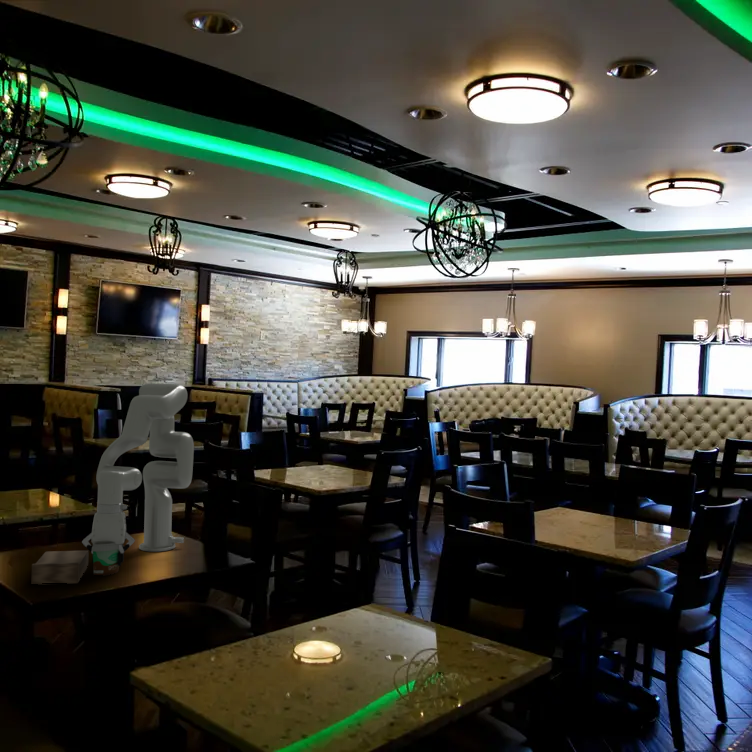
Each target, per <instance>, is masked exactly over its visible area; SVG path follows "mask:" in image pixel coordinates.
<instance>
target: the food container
mask: <svg viewBox="0 0 752 752" xmlns="http://www.w3.org/2000/svg"><path fill="white" fill-rule="evenodd" d="M121 545H122V544H121ZM123 546H124V545H123ZM123 546H122V547H123ZM92 551H93V563H92V564H93V565H92V567H93V576H94V575H103V576H111V575H114V573H115V574H117V573H118V572H119V567H120V566H118V554H119V545H116V544H115V543H111V544H92ZM110 574H111V575H110Z"/></svg>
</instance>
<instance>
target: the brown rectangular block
mask: <svg viewBox="0 0 752 752" xmlns="http://www.w3.org/2000/svg"><path fill="white" fill-rule="evenodd" d="M89 552H90V551H89V550H88V549H87V550H61V551H60V550H55V551H51V550H49V551H48V550H47V551H45V552H44V553H43V554H42V556H40V558H39V559H38V560H37V561H36V562H35V563H31V576H30V577H31V583H30V584H38V585H43V584H42V583H67V584H79V582H80V581H81V579H82V577H83V576H84V574H85V572H86V571H87V569H88V567H89ZM87 566H88V567H87ZM83 573H84V574H83ZM80 578H81V579H80Z"/></svg>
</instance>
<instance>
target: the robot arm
mask: <svg viewBox="0 0 752 752" xmlns="http://www.w3.org/2000/svg"><path fill="white" fill-rule="evenodd" d="M187 401H188V391H187V388H186V387H185V386H184V385H182V384H177V383H156V382H155V383H145V384H142V385H141V386H140V387H139V389H138V395H136V396H134V397H133V398H132V400H131V401H130V403H129V407H128V410H127V415H126V418H125V421H124V425H123V429H122V432H121V434H120V435H119V436H118V438H116V439H115V440H114V441H112V442H111V444H110V445H109V446H108V447H107V448H106V449H105V450H104V451H103V454H102V455H101V458H100V460H99V464H98V467H97V471H96V478H95V479H96V483H97V507H96V510H97V511H96V512H95V513H94V516H93V522H92V528H91V532H90V533H89V534H88V535H87V536H86V537H85V538H83V540H82V541H81V543H82V544H83V546H84V547H86V549H87V550H89V552H90V554H92V557H91V559H92V560H91V563H92V564H93V551H92V546H93V544H111V543H115V544H116V545H119V554H118V566H119V567H121V565H122V564H123V563H124V561H125V560H124V557H125V556H124V555H125V552H126V551H127V550H129V548H130V547H131V546H132V545H133V544H134V542H135V541H136V540H135V538H133V537H132V536H131V534H129V533H128V532H127V520H126V513H125V510H127V509H128V505H127V504H124V503H123V500H124V499H123V497H124V491H134V490H136V489H138V488H139V487H140V486H141V484H142V481H143V486H144V522H143V523H144V524H143V525H144V526H143V527H144V529H143V542H142V543H140V544H139V545H138V549H139V550H141V551H144V552H150V553H151V552H152V553H153V552H154V553H155V552H167V551H171V550H173V549H175V548H176V544H177V543H178V544H184V543H185V538H184V537H181V536H174V535H173V533H172V522H173V521H172V520H173V518H172V516H173V515H172V514H173V498H172V495H171V492H170V491H169V489H179V490H180V489H183V490H184V489H187V488H189V486H190V485H191V483H192V479H193V472H194V471H193V469H194V468H193V467H194V453H195V444H194V439H193V437H192V435H191V434H190V433H188V432H185V431H175V415H176V414H177V413H179V412H180V411H181V409H183V408H184V406H185V405H186V403H187ZM148 438H149V439H148ZM148 441H149V442H148ZM146 442H148V443H149V444H148V445H149V446H148V448H149V454H150V455H151V456H153V457H156V458H157V457H158V458H166V459H167V458H169V459H176V461H168V460H167V461H166V460H154V461H153V460H152V461H149V462H148V463H146V465H144V467H143V470H142V472H141V471H140V469H138V468H136V467H133V466H132V467H131V466H117V465H116V466H115V462H116V461H117V460H118V458H119V457H120V456H121V455H123V454H125V453H126V452H129V451H131V450H132V449H136V448H139V447H140V446H142V445H144V444H146ZM90 540H91V543H90V542H89V541H90ZM126 540H127V541H128V542H127V543H126V544H125V541H126ZM121 544H122V545H121ZM124 544H125V545H124ZM122 546H123V547H122Z"/></svg>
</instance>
